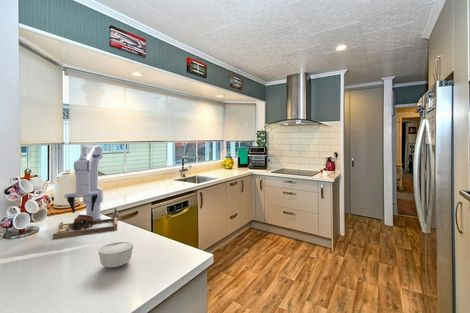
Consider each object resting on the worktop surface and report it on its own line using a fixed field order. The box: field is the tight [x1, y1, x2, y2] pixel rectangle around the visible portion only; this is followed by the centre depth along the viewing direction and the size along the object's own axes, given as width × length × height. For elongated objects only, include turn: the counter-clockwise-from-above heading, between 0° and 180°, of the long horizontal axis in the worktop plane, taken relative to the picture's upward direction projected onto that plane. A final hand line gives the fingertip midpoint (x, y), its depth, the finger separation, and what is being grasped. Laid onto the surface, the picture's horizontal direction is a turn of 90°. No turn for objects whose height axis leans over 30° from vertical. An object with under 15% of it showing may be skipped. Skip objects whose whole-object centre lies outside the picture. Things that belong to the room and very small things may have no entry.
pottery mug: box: [70, 214, 94, 231], centre depth 118 cm, size 12×9×8 cm
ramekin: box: [97, 241, 134, 268], centre depth 81 cm, size 11×11×5 cm
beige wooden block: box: [56, 221, 70, 233], centre depth 113 cm, size 11×3×4 cm, turn 28°
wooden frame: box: [52, 207, 119, 239], centre depth 118 cm, size 18×27×8 cm, turn 118°
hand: (83, 211), depth 112 cm, fingers open, 7 cm apart
